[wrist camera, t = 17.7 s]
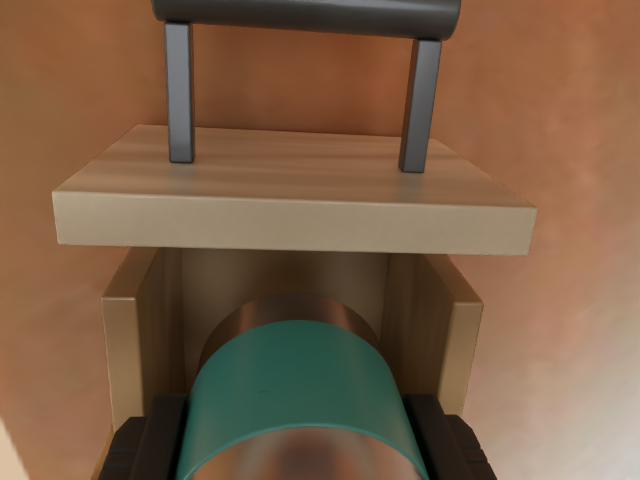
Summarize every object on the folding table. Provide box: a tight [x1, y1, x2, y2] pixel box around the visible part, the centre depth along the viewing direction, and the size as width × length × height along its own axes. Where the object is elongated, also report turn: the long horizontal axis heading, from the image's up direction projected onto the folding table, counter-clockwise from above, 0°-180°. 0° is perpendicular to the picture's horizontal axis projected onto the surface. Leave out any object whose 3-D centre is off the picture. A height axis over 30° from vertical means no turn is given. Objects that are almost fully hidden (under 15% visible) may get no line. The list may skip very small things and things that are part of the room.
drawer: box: [52, 0, 538, 434], centre depth 17 cm, size 18×10×8 cm, turn 176°
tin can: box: [173, 292, 430, 480], centre depth 12 cm, size 5×5×7 cm
